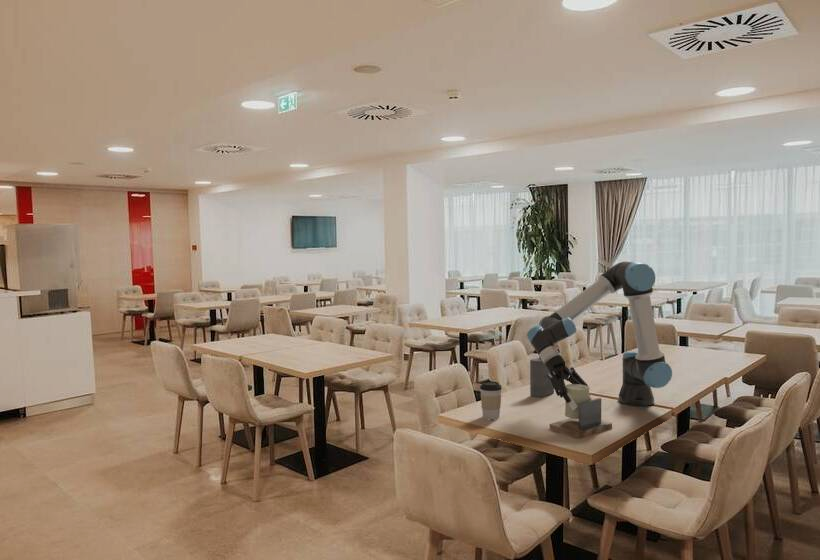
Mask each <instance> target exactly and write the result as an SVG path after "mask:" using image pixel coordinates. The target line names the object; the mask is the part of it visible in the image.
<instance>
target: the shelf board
mask: <svg viewBox="0 0 820 560" xmlns="http://www.w3.org/2000/svg"><path fill="white" fill-rule="evenodd" d="M601 423H604V424H606V425H604V426H601V427H598V428H594V429H591V430H588V431H583V430H580V429H579V419H572V418H566V419H563V420H559V421H556V422H552V423H549V430H552V431H554V432H557V433H560V434H562V435H567V436H569V437H572V438H575V439H581V438H585V437H588V436H591V435H594V433H595V434H598V433H600V432H605V431H609V430H611V429H613V422H611V421H606V420H603V419H601ZM610 428H611V429H610ZM604 430H605V431H604ZM597 432H598V433H597Z"/></svg>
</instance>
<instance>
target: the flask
mask: <svg viewBox="0 0 820 560" xmlns="http://www.w3.org/2000/svg"><path fill="white" fill-rule="evenodd" d="M538 356H539V355H538ZM529 372H530V373H529V374H530V375H529V377H530V378H529V379H530V380H529V383H530V384H529V385H530V386H529V388H530V389H529V390H530V392H529V393H530V397H531V398H534V397H535V398H537V399H539V398H544V396H545V397H548V396H551V395H553V394H554V393H555V389H554V387H553V385H552V383H551V380H550V379H549V377H548V376H547V375H548V374H549V373H550V372H549V370H548V369H547V367H546V366H545V364H544V362H543V361H542V359H541V358H540V356H539V357H537V358H533V359H530V360H529ZM538 397H539V398H538Z"/></svg>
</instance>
